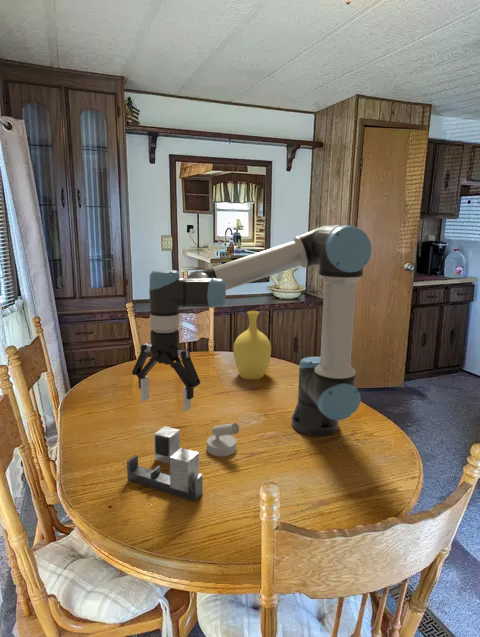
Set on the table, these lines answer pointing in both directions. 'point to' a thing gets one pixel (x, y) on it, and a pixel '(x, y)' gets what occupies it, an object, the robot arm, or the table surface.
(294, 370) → the table surface
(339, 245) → the robot arm
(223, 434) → the wall hook
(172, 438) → the light grey block
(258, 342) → the vase
